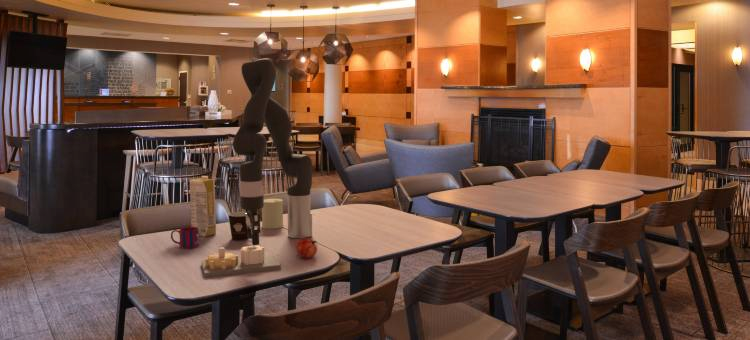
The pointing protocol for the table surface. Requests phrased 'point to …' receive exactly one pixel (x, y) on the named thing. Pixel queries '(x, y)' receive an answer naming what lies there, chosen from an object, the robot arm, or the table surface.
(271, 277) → the table surface
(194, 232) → the cup
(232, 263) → the gear board
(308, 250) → the pomegranate
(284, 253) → the table surface
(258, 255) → the loose gear
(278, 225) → the can
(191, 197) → the juice carton
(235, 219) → the coffee mug
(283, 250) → the table surface
